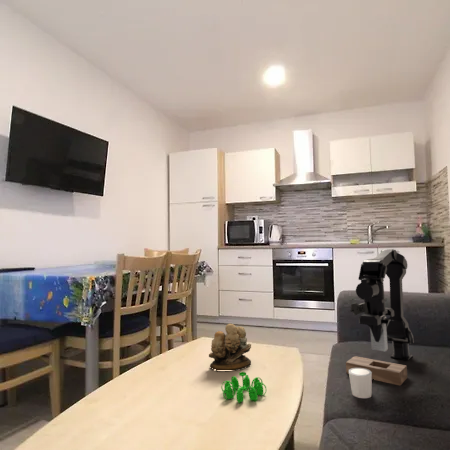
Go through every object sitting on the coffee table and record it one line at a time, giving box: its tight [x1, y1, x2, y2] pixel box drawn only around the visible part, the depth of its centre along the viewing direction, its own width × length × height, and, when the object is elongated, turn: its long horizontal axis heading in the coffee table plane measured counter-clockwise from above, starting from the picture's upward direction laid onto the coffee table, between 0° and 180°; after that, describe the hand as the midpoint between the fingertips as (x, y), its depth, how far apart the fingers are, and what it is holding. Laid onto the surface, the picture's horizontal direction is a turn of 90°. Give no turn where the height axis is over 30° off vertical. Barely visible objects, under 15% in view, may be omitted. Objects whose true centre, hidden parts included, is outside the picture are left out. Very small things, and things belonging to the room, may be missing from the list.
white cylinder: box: [348, 368, 373, 399], centre depth 107 cm, size 7×7×7 cm
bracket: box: [369, 323, 389, 353], centre depth 120 cm, size 3×4×9 cm, turn 48°
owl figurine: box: [208, 323, 252, 371], centre depth 139 cm, size 18×12×17 cm, turn 108°
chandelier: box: [221, 371, 267, 404], centre depth 112 cm, size 15×15×7 cm
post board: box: [345, 355, 408, 386], centre depth 121 cm, size 8×18×4 cm, turn 47°
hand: (378, 340), depth 120 cm, fingers closed on bracket, 3 cm apart
